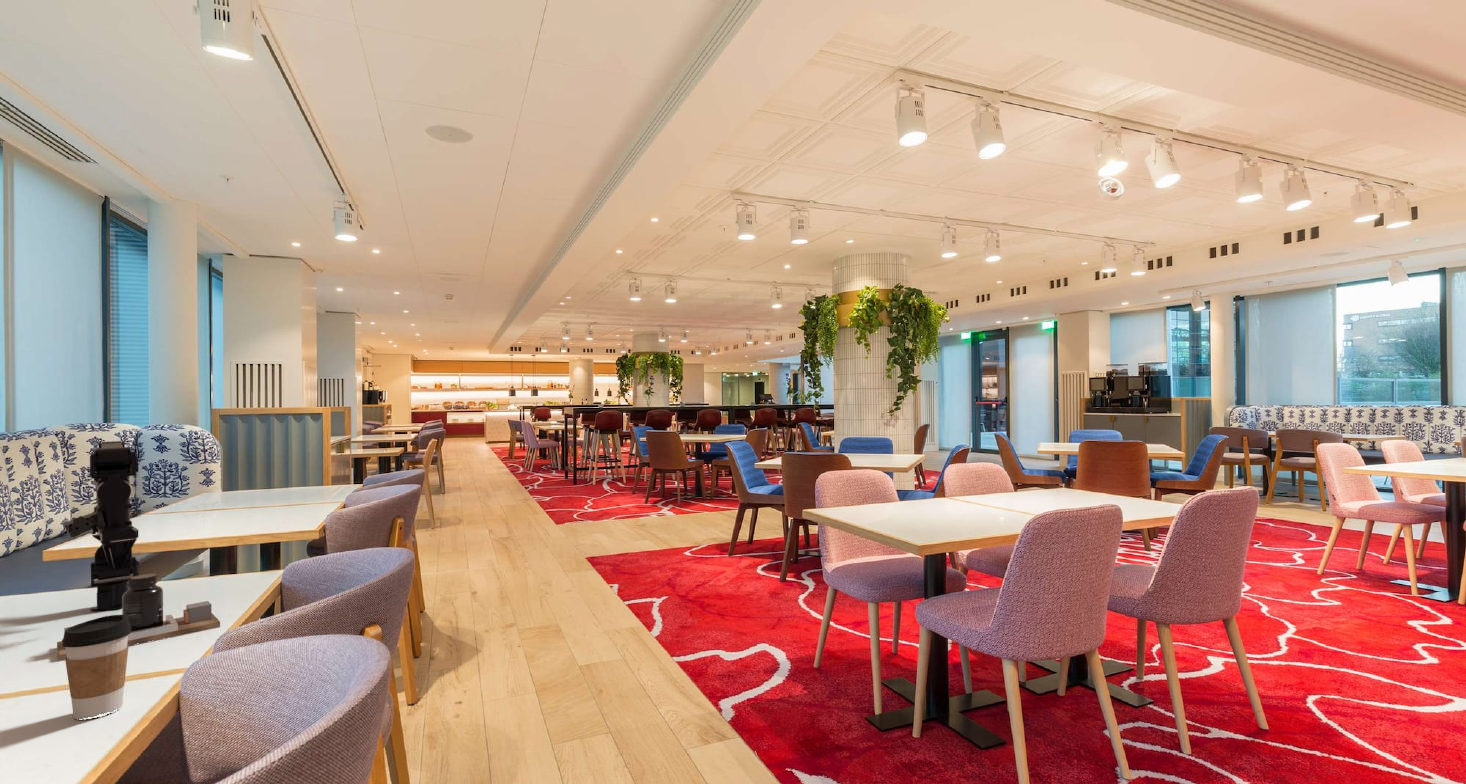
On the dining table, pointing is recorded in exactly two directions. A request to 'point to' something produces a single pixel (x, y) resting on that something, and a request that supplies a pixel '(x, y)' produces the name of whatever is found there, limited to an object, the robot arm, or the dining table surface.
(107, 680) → the coffee cup
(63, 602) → the dining table surface
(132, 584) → the supplement bottle
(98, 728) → the dining table surface
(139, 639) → the walnut rail
